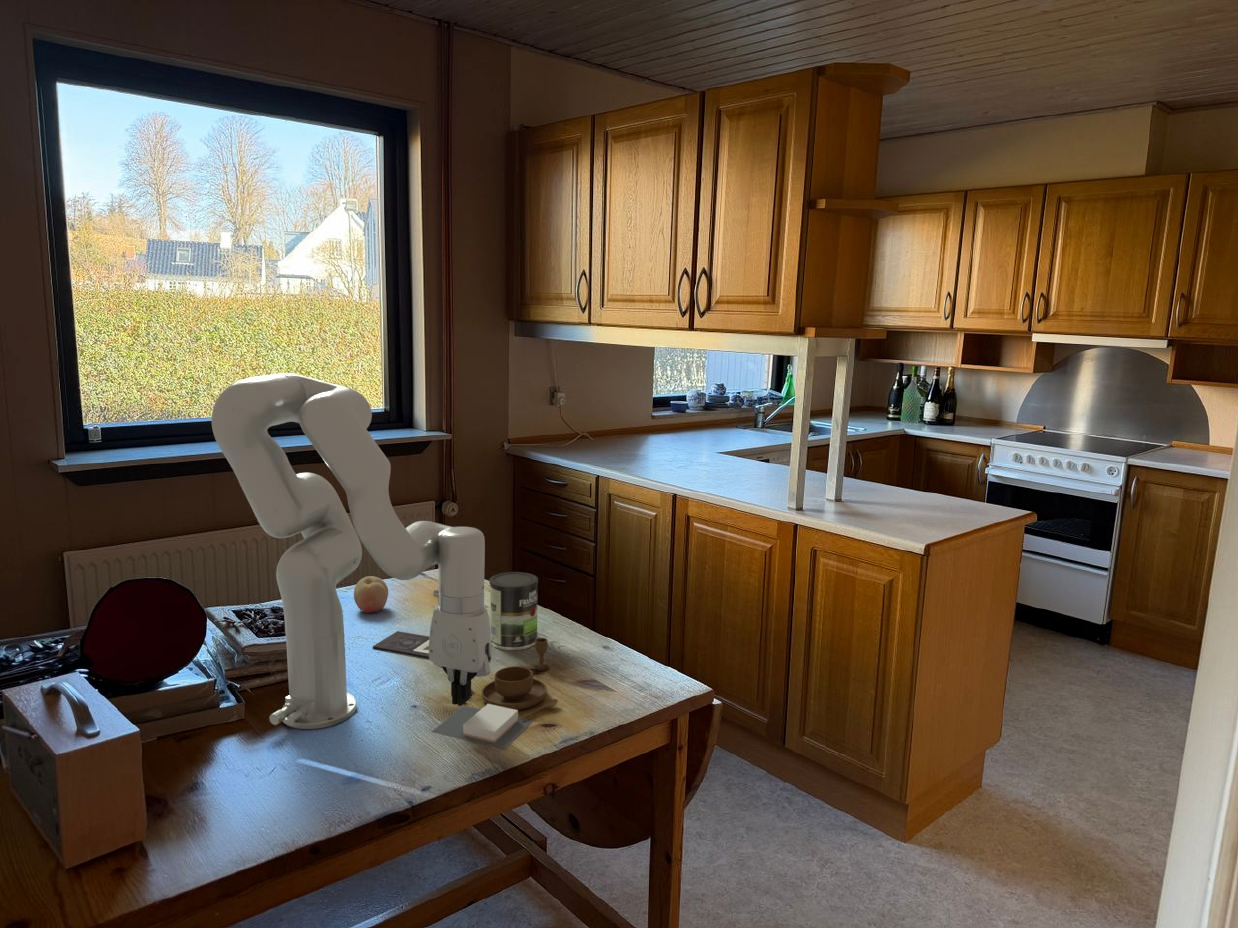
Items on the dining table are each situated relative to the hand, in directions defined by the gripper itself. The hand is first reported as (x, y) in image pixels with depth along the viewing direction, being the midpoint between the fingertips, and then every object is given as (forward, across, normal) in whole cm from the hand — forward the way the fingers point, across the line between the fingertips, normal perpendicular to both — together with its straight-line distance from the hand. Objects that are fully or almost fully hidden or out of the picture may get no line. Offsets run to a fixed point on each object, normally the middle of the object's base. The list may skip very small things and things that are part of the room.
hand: (461, 701), depth 142 cm
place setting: (+4, +5, +15) cm, 17 cm away
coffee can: (+5, -9, +36) cm, 37 cm away
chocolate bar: (+5, -25, +25) cm, 36 cm away
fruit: (+5, -48, +37) cm, 61 cm away
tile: (+3, +3, 0) cm, 4 cm away
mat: (+4, +4, 0) cm, 6 cm away
